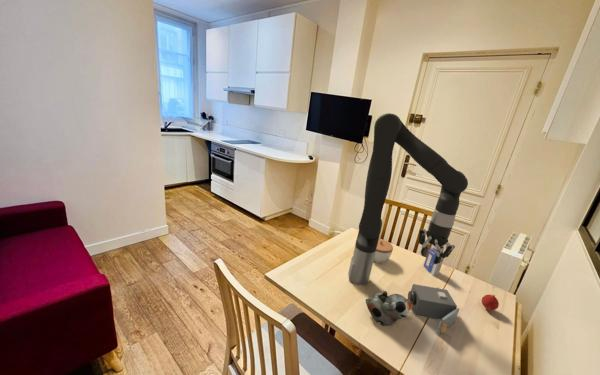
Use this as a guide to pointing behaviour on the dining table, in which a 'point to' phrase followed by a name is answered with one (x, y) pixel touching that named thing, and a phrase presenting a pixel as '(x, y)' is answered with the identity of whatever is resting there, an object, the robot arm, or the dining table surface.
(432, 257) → the walkman
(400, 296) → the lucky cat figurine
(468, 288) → the dining table surface
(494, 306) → the red bumpy ovoid
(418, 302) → the camera housing
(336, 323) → the dining table surface
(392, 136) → the robot arm
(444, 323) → the door
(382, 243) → the lidded bowl
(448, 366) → the dining table surface
